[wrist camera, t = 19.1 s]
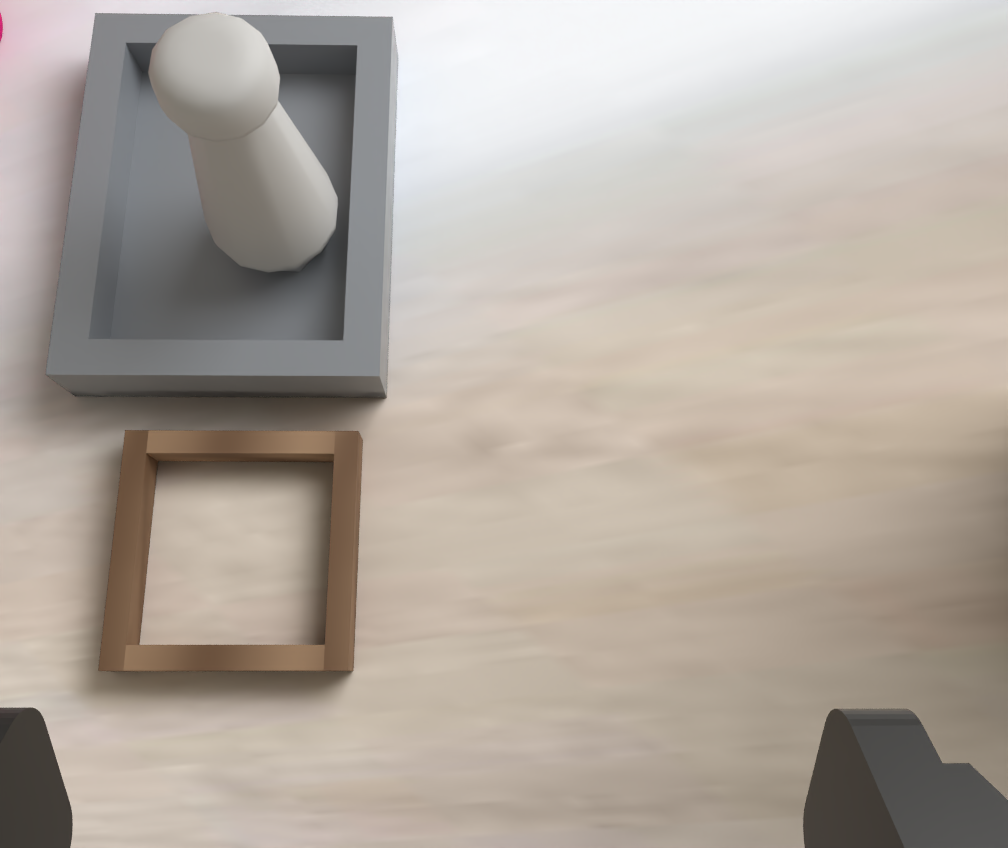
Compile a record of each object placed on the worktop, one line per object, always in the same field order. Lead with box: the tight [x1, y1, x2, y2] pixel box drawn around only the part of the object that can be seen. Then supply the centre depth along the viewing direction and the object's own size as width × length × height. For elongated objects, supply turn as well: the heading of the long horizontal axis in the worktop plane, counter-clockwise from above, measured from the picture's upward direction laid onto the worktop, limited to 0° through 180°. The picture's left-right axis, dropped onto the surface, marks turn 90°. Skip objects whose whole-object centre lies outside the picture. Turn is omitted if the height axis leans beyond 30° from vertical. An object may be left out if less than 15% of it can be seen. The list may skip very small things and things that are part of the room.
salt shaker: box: [148, 12, 338, 273], centre depth 38 cm, size 6×6×13 cm
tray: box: [45, 13, 398, 398], centre depth 44 cm, size 14×18×3 cm
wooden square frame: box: [98, 430, 363, 671], centre depth 40 cm, size 10×10×2 cm
